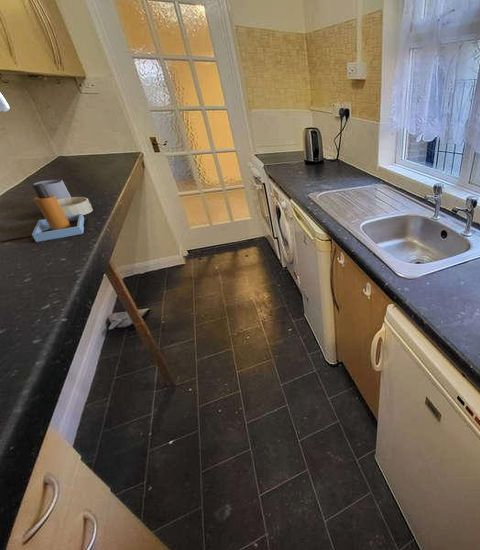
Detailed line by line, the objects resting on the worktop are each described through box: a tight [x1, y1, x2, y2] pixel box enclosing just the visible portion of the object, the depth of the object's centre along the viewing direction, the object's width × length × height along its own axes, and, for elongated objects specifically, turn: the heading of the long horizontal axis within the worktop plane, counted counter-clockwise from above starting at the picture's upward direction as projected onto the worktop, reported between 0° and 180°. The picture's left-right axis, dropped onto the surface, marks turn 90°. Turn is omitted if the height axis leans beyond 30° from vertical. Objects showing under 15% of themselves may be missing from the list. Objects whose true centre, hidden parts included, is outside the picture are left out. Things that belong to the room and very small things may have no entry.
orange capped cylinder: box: [31, 184, 72, 231], centre depth 98 cm, size 5×5×15 cm
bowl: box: [57, 196, 94, 216], centre depth 114 cm, size 13×13×5 cm
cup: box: [33, 179, 72, 199], centre depth 120 cm, size 8×8×10 cm
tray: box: [31, 214, 85, 243], centre depth 102 cm, size 12×16×3 cm
